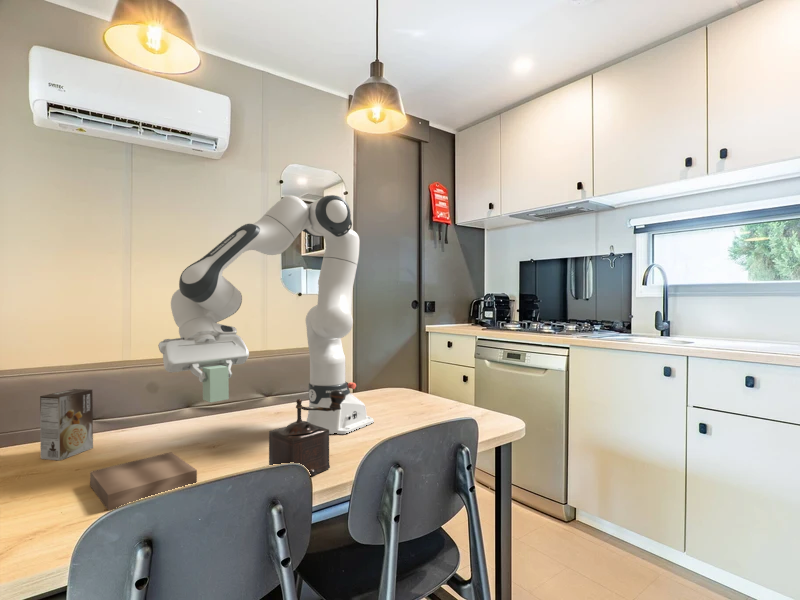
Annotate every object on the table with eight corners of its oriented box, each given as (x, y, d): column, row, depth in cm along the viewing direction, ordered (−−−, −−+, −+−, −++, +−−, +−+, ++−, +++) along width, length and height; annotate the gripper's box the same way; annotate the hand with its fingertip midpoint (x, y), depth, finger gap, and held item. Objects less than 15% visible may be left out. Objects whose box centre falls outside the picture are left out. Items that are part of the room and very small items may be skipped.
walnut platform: (171, 464, 100) (171, 452, 100) (196, 483, 89) (196, 469, 89) (90, 485, 89) (90, 471, 89) (108, 510, 78) (108, 494, 78)
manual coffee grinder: (294, 484, 89) (293, 400, 89) (267, 470, 97) (267, 393, 97) (349, 463, 100) (349, 389, 101) (321, 452, 108) (321, 384, 108)
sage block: (221, 396, 105) (220, 365, 105) (228, 399, 102) (228, 366, 102) (202, 399, 102) (202, 367, 102) (210, 402, 99) (209, 369, 99)
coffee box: (74, 446, 113) (74, 388, 113) (93, 448, 112) (94, 389, 112) (38, 459, 104) (39, 395, 104) (59, 461, 103) (60, 396, 103)
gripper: (159, 331, 100) (174, 376, 93) (241, 326, 114) (259, 365, 108) (153, 348, 103) (167, 393, 96) (234, 342, 117) (251, 380, 111)
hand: (216, 378), depth 102 cm, fingers closed on sage block, 4 cm apart
